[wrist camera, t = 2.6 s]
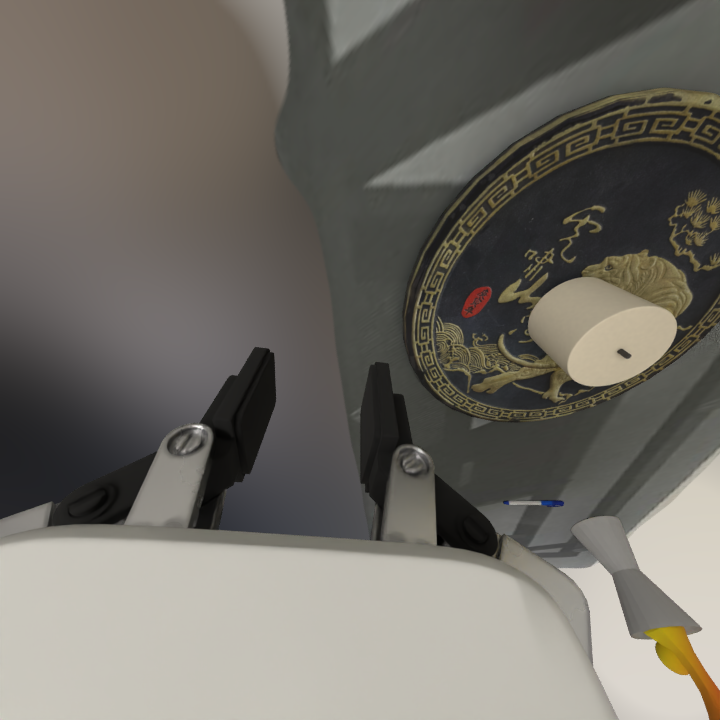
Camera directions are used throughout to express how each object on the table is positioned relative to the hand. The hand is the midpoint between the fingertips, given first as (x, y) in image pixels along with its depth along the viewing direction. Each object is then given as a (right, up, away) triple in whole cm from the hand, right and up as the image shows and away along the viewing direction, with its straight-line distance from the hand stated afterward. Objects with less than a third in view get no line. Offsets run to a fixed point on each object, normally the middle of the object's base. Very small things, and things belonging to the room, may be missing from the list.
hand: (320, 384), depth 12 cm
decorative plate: (+21, +6, +14) cm, 26 cm away
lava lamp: (+48, -32, +41) cm, 71 cm away
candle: (+21, +5, +13) cm, 25 cm away
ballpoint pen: (+32, -24, +36) cm, 54 cm away
